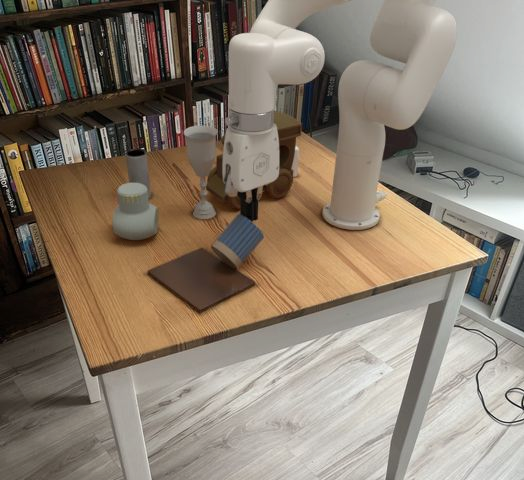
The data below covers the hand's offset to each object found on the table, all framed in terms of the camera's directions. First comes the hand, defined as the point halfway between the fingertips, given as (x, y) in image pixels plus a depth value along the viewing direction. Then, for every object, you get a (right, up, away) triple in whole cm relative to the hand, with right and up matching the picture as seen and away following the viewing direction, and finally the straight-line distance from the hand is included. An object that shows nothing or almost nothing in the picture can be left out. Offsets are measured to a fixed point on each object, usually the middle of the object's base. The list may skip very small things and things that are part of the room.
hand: (248, 218), depth 106 cm
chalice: (-10, +5, +19) cm, 22 cm away
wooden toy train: (0, +11, +26) cm, 29 cm away
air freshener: (-23, -1, +12) cm, 26 cm away
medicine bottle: (+7, +20, +36) cm, 42 cm away
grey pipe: (-26, +11, +25) cm, 37 cm away
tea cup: (-1, -5, +3) cm, 7 cm away
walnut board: (-9, -12, 0) cm, 15 cm away
